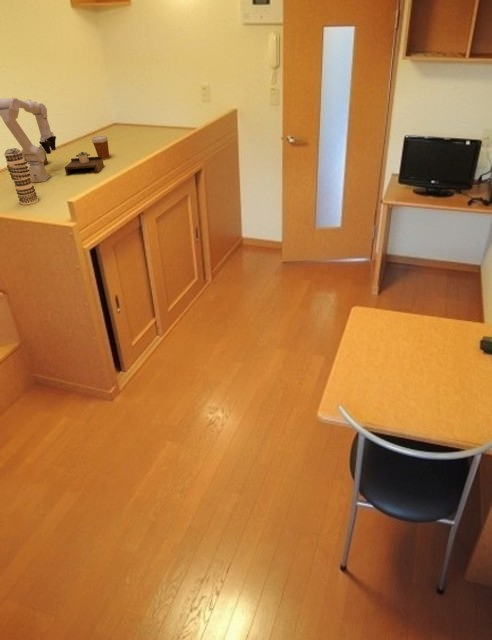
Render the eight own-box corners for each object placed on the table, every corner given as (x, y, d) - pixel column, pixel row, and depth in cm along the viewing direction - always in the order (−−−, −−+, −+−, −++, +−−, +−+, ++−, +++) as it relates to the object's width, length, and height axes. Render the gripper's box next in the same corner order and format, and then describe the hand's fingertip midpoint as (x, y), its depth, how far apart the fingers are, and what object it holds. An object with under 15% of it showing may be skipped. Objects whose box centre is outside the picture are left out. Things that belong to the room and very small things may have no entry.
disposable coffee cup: (93, 159, 295) (87, 139, 288) (103, 155, 302) (98, 135, 295) (104, 160, 291) (100, 140, 284) (115, 156, 298) (110, 136, 291)
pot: (90, 162, 273) (87, 152, 270) (76, 163, 273) (73, 153, 270) (92, 160, 277) (90, 150, 274) (79, 160, 278) (76, 151, 275)
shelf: (97, 173, 270) (95, 162, 267) (66, 175, 272) (63, 165, 268) (104, 166, 281) (101, 156, 278) (74, 168, 282) (71, 158, 279)
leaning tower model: (41, 197, 243) (25, 146, 229) (35, 203, 235) (18, 151, 221) (23, 199, 243) (5, 147, 229) (17, 205, 235) (-2, 153, 221)
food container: (43, 167, 289) (37, 150, 283) (34, 167, 290) (28, 150, 285) (53, 161, 299) (48, 144, 293) (45, 161, 300) (39, 145, 295)
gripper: (46, 129, 263) (53, 154, 270) (55, 123, 275) (62, 147, 282) (33, 130, 263) (41, 155, 271) (43, 124, 275) (50, 148, 283)
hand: (51, 151), depth 276 cm, fingers open, 7 cm apart
